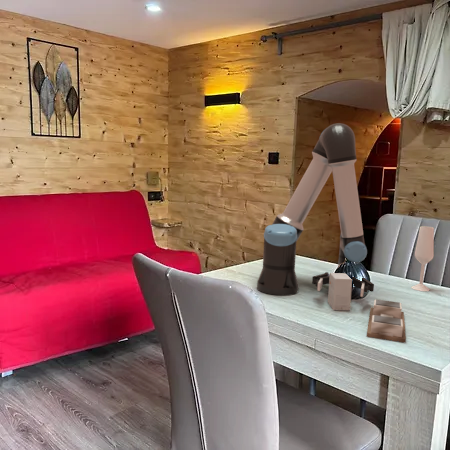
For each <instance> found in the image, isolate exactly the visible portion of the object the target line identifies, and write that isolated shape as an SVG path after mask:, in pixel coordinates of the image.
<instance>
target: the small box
mask: <svg viewBox="0 0 450 450" xmlns="http://www.w3.org/2000/svg"><path fill="white" fill-rule="evenodd" d="M329 275H330V277H329V284H328V293H327V294H328V296H327V304H329V306H330V308H331V309H332V311H351V301H352V289H353V287H352V279H351V278H350V277H349V276H348V275H347V274H346V273H335V272H330V273H329Z"/></svg>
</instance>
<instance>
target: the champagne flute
mask: <svg viewBox="0 0 450 450" xmlns="http://www.w3.org/2000/svg"><path fill="white" fill-rule="evenodd" d="M434 230H435V229H434V227H433V226H428V225H427V226H424V225H423V226H422V225H421V226H420V227H419V231H418V237H417V241H416V245H415V250H414V258H415V259H416V260H417V261H418V262H419V264H420V265H421V266H420V275H419V283H418V284H415V285H413V286H411V289H413V290H414V291H421V292H429V290H431V289H430V288H429V287H427V286H426V285H425V284H424V276H425V275H424V274H425V265H426V264H428V263H430V262H431V261H433V259H434V255H435V253H434V245H435V244H434V243H435V242H434V241H435V239H434V238H435V236H434V232H435V231H434Z"/></svg>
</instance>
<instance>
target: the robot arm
mask: <svg viewBox="0 0 450 450" xmlns="http://www.w3.org/2000/svg"><path fill="white" fill-rule="evenodd" d="M311 154H312V160H311V162H310V163H309V165H308V167H307V169H306V171H305V172H304V174H303V176H302V178H301V179H300V181H299V183H298V185H297V187H296V189H295V190H294V192H293V193H292V196H291V197H290V199H289V202H288V203H287V205H286V207H285V208H284V210H283V212H282V213H279V214H277V215H276V217H275V218H274V220H273V222H272V224H269V225H267V226H266V227H265V228H264V232H263V239H264V240H263V252H262V253H263V256H262V269H261V272H260V273H259V276H258V279H257V281H256V282H257V283H256V289H257V290H258V291H259V292H262V293H263V294H268V295H274V296H290V295H295V294H297V293H299V286H300V285H299V282H298V281H299V280H298V278H297V274H296V271H295V270H296V257H297V255H296V254H297V242H298V241H299V238H300V237H301V235H302V233H303V231H304V225H303V223H304V222H305V220H306V218H307V217H308V215H309V213H310V211H311V209H312V208H313V205H314V204H315V202H316V200H317V199H318V197H319V195H320V193H321V192H322V189H323V188H324V186H325V185H326V182H327V181H328V179H329V178H330V175H331V174H332V177H333V184H334V191H335V192H334V193H335V199H336V200H335V201H336V207H337V212H338V221H339V227H340V236H339V254H338V264H337V268H336V270H337V269H338V268H339V267H340V265H341V264H342V263H343V262H344V260H345V258H347V259H348V260H349V261H351V262H355V263H358V262H359V263H361V262H362V261H364V260H365V258H367V254H368V249H367V246H366V243H365V238H364V236H365V235H364V230H363V229H364V228H363V223H362V222H363V221H362V213H361V207H360V206H361V205H360V197H359V191H358V185H357V184H358V182H357V175H356V169H355V163H356V162H357V149H356V136H355V133H354V131H353V129H352V128H351V127H350V126H349V125H347V124H345V123H340V122H338V123H333V124H330V125H329V126H327V127H326V128H325V129H323V131H322V132H321V134H320V135H319V138H318V140H317V142H316V144H315V146H314V148H313V149H312V151H311ZM329 277H330V273H329V272H327V271H326V272H324V273H322V274H317V275H313V276H312V279H311V285H315V286H316V288H317V289H316V291H317V292H321V289H322V288H323V285H329ZM352 280H353V284H354V286H355V288H357V289H359V290H360V297H362V298H363V297H364V293H365V294H366V293H368V292H372V293H373V292H374V290H375V289H374V288H375V283H373V282H371V281H370V280H368V279H367V278H366V277H365V278H362V281H360V280H358V279H356V278H355V277H352Z"/></svg>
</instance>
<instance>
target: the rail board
mask: <svg viewBox="0 0 450 450" xmlns="http://www.w3.org/2000/svg"><path fill="white" fill-rule="evenodd" d="M402 310H403V309H402V303H401V302H398V301H392V300H386V299H385V300H384V299H377V298H376V299H374V301H373V307H372V306H371V307H370V309H369V315H368V321H367V322H368V324H367V329H366V337H367V336H368V337H367V338H373V337H374V338H373V339H381V340H385V339H386V340H385V341H391V340H392V341H393V342H397V341H399V343H404V342H407V336H406V325H405V324H406V323H405V312H404V311H402Z"/></svg>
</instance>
